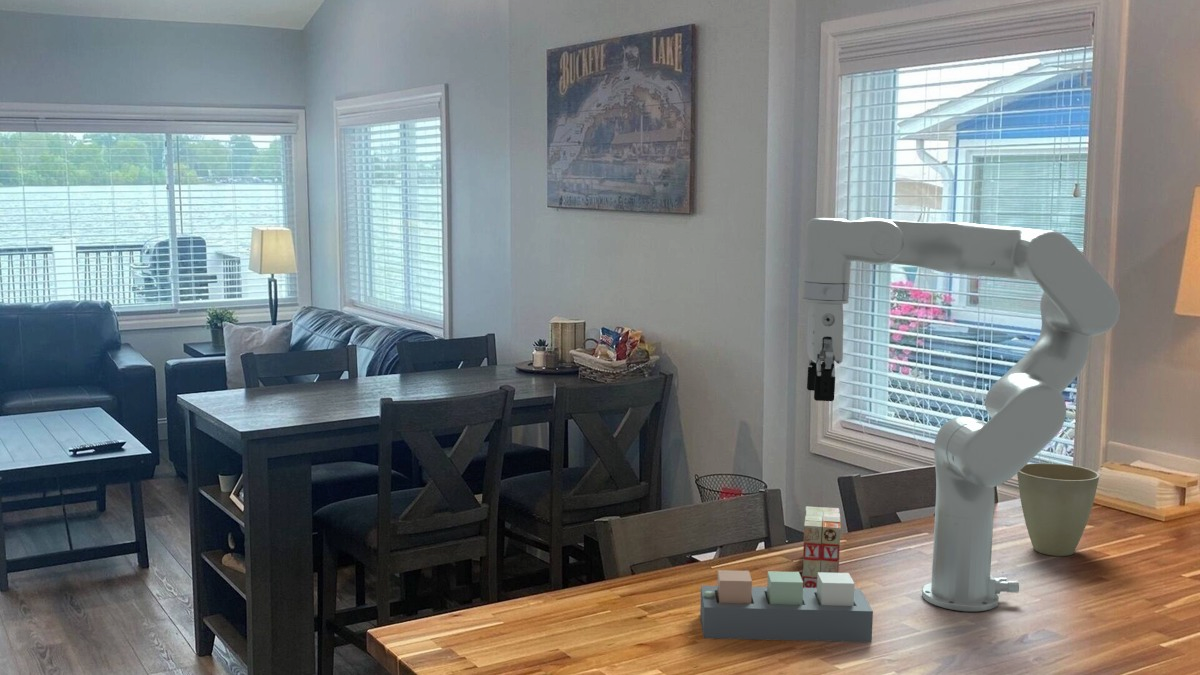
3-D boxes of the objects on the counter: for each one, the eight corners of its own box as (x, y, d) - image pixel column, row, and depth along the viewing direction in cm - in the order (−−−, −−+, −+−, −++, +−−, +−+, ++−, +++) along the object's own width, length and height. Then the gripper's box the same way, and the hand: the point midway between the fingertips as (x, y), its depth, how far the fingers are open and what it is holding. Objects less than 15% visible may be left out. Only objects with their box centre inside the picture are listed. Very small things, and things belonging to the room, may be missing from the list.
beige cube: (748, 600, 186) (748, 570, 185) (751, 611, 181) (751, 581, 180) (717, 600, 186) (717, 570, 185) (719, 611, 181) (719, 580, 180)
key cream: (847, 602, 185) (848, 573, 185) (853, 614, 180) (854, 583, 180) (816, 602, 185) (817, 572, 185) (821, 613, 180) (822, 582, 180)
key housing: (859, 618, 188) (860, 585, 187) (871, 642, 178) (873, 607, 177) (700, 614, 189) (701, 581, 188) (703, 638, 179) (704, 603, 178)
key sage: (797, 601, 185) (798, 571, 185) (802, 613, 180) (803, 582, 180) (766, 601, 186) (767, 571, 185) (770, 612, 181) (771, 581, 180)
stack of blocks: (804, 555, 221) (806, 492, 219) (837, 557, 220) (839, 494, 218) (801, 592, 200) (803, 524, 199) (838, 595, 199) (840, 526, 197)
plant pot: (1100, 547, 227) (1105, 468, 225) (1086, 567, 215) (1091, 484, 213) (1021, 534, 235) (1026, 458, 233) (1004, 553, 223) (1008, 473, 221)
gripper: (856, 298, 181) (850, 405, 183) (841, 289, 198) (835, 387, 200) (808, 297, 181) (803, 403, 183) (797, 288, 198) (792, 385, 200)
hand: (820, 395), depth 192 cm, fingers open, 9 cm apart
